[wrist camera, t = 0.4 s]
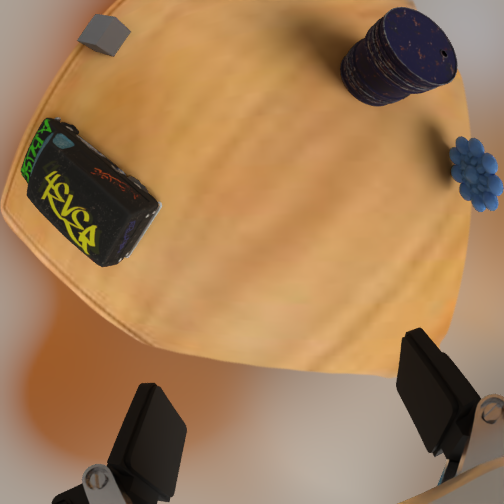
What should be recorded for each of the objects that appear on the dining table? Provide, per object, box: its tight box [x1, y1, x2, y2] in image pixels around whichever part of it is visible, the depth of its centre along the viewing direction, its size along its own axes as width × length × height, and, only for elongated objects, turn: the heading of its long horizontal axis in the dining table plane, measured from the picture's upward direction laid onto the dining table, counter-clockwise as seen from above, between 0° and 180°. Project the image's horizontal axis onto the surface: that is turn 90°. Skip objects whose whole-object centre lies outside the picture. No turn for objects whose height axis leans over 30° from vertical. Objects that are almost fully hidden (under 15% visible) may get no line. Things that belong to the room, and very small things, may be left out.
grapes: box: [449, 136, 504, 212], centre depth 29 cm, size 12×7×12 cm, turn 16°
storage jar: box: [340, 7, 457, 106], centre depth 23 cm, size 10×10×15 cm
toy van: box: [21, 117, 162, 267], centre depth 31 cm, size 11×25×10 cm, turn 50°
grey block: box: [77, 14, 131, 57], centre depth 25 cm, size 5×4×6 cm
